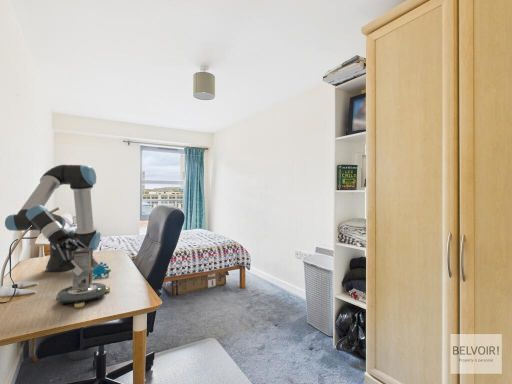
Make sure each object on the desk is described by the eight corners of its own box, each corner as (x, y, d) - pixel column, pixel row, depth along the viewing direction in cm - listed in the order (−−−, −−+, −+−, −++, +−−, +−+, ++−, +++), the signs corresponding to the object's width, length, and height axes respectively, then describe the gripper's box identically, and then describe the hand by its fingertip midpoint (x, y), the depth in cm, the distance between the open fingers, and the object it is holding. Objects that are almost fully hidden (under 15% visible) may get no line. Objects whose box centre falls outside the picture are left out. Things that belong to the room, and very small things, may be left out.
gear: (84, 276, 145) (92, 260, 152) (86, 282, 148) (93, 266, 156) (107, 278, 147) (113, 262, 154) (108, 283, 151) (114, 267, 158)
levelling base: (74, 289, 130) (74, 280, 130) (115, 290, 129) (116, 281, 129) (37, 307, 109) (37, 296, 109) (85, 309, 108) (86, 298, 108)
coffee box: (76, 283, 122) (76, 248, 122) (92, 281, 125) (93, 247, 125) (71, 290, 114) (72, 252, 114) (89, 288, 116) (89, 250, 116)
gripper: (69, 235, 132) (100, 268, 131) (27, 244, 109) (63, 284, 108) (80, 225, 131) (110, 257, 130) (39, 232, 108) (76, 271, 107)
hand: (89, 269), depth 119 cm, fingers closed on coffee box, 10 cm apart
